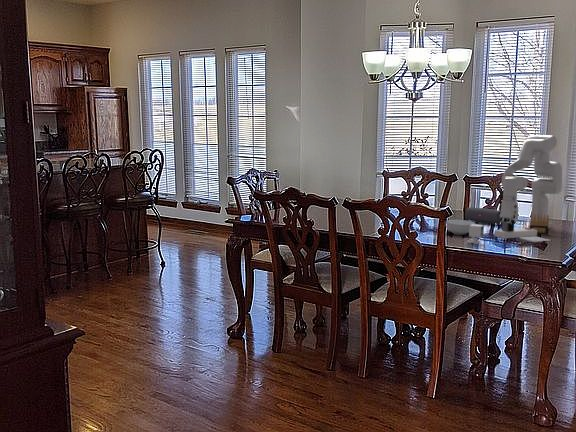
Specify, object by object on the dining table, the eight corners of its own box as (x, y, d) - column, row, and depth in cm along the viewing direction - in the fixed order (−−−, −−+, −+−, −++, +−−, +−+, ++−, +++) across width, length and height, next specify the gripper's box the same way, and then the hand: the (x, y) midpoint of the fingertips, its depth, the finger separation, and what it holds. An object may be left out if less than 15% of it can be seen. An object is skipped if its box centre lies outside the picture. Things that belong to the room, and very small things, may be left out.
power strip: (526, 233, 357) (527, 226, 357) (536, 235, 350) (537, 229, 349) (494, 236, 349) (494, 229, 348) (503, 238, 341) (504, 231, 341)
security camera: (479, 244, 324) (480, 226, 322) (467, 243, 328) (467, 225, 326) (482, 242, 329) (483, 224, 328) (470, 241, 333) (471, 223, 331)
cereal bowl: (454, 236, 347) (455, 224, 346) (439, 231, 363) (440, 220, 361) (480, 235, 351) (480, 223, 350) (464, 230, 367) (465, 219, 366)
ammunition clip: (548, 234, 356) (549, 214, 354) (548, 234, 354) (549, 214, 352) (528, 233, 359) (530, 213, 358) (528, 233, 358) (530, 213, 356)
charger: (508, 232, 350) (509, 221, 349) (513, 234, 346) (514, 222, 345) (501, 233, 348) (502, 222, 347) (506, 234, 344) (507, 223, 343)
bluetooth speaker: (464, 221, 399) (464, 207, 398) (471, 220, 406) (472, 205, 404) (495, 226, 383) (496, 210, 381) (502, 224, 389) (503, 209, 388)
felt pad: (535, 237, 346) (535, 236, 346) (550, 241, 335) (551, 240, 335) (518, 238, 342) (518, 237, 341) (534, 242, 330) (534, 241, 330)
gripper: (525, 200, 337) (523, 232, 340) (504, 196, 353) (503, 227, 356) (514, 200, 335) (512, 232, 338) (494, 197, 350) (492, 227, 353)
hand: (507, 229), depth 347 cm, fingers open, 4 cm apart
